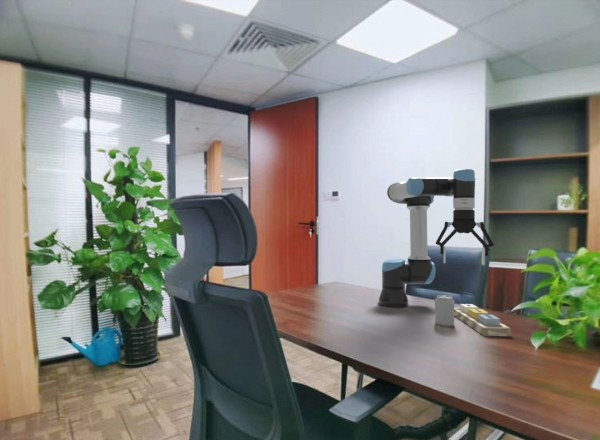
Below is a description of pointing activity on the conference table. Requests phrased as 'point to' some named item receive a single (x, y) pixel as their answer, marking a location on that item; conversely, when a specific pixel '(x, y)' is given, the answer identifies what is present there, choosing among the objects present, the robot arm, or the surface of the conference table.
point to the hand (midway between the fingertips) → (463, 263)
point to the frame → (482, 329)
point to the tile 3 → (488, 320)
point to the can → (444, 310)
